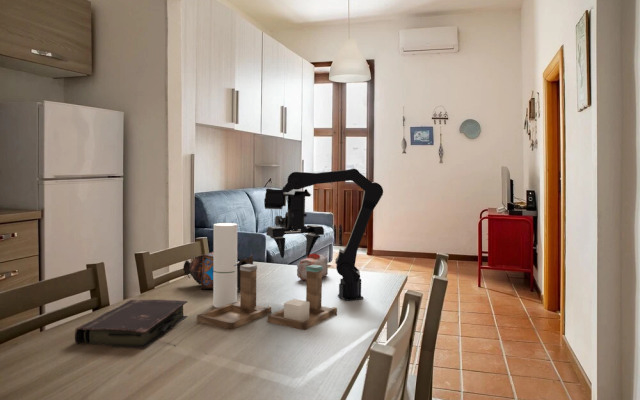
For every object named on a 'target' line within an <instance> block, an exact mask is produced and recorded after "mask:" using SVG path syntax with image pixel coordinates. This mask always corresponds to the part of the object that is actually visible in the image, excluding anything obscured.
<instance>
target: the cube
mask: <svg viewBox="0 0 640 400" xmlns="http://www.w3.org/2000/svg"><path fill="white" fill-rule="evenodd" d="M309 303H310V302H308V301H306V300H302V299H298V298H297V299H296V298H292V299H291V300H289V301H286V302H284V303H283V309H284V318H288V319H293V320H298V321H302V322H304V321H306V320H308V319H309Z"/></svg>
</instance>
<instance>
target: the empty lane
mask: <svg viewBox="0 0 640 400" xmlns="http://www.w3.org/2000/svg"><path fill="white" fill-rule="evenodd" d="M240 270H241V284H240V291H239V293H240V298H239V299H240V300H237V301H236V302H233V303H230V304H228V305H225V306H222V307H219V308H216V307H215V308H214V309H213V308H212V309H211V310H208V311H205V312H203V313H199V314H198V315H197V316H196V324H197V325H200V324H202V323H203V324H206V325H211V326H215V327H220V328H224V329H228V330H234V329H236V328H239V327H241V326H244V325H246V324H248V323H250V322H253V321H255V320H258V319H260V318H262V317H264V316H266V315H267V316H268V315H270V314H272V306H265V307H264V306H259V305H257V270H258V265H256V264H253V265H252V264H245V265H242V266H240Z"/></svg>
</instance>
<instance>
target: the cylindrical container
mask: <svg viewBox="0 0 640 400" xmlns="http://www.w3.org/2000/svg"><path fill="white" fill-rule="evenodd" d="M213 252H214V260H213V270H214V271H213V288H212V290H213V297H212V298H213V299H212V300H213V302H212V303H213V305H212V306H213V307H215V309H216V308H219V307H222V306H225V305H228V304H230V303H233V302H236V301H238V288H237V263H238V262H237V258H238V223H233V222H221V223H219V222H218V223H213Z"/></svg>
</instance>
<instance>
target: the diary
mask: <svg viewBox="0 0 640 400" xmlns="http://www.w3.org/2000/svg"><path fill="white" fill-rule="evenodd" d="M187 303H188V300H175V299H174V300H173V299H130V300H128V301H127V302H125V303H123V304H121V305H120V306H118V307H116V308H113V309H112V310H110V311H107V312H105V313H103V314H101V315H100V316H98V317H97V318H95V319H93V320H90V321H89V322H87V323H85V324H82V325H80V326H78V327H76V328H75V330H74V343H75V345H79V344H81V343H83V342H84V343H85V344H84V345H87V344H89V343H90V344H92V345H102V344H104V345H106V346H111V348H112V347H113V348H124V349H125V348H127V349H137V350H139V349H141V350H142V349H147V348H148V347H149V346H151V345H152V344H154V342H156V341H158V340H159V339H161V337H163V336H164V335H165V334H166V333H168V332H169V331H171V330H172V329H173V328H174V327H175V325H177V324H178V323H180V322H182V321H184V320H185V319H187V318H188V317H189V316H188V315H184V305H185V304H187Z"/></svg>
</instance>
